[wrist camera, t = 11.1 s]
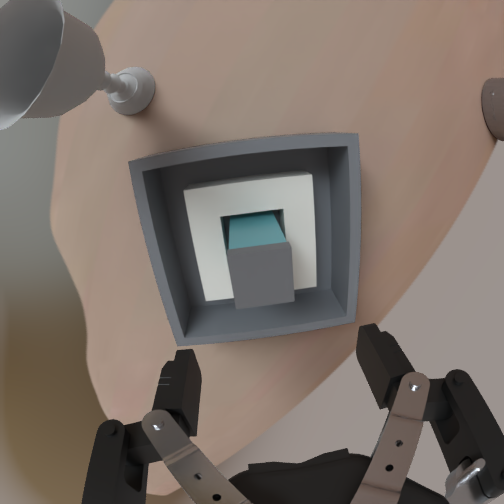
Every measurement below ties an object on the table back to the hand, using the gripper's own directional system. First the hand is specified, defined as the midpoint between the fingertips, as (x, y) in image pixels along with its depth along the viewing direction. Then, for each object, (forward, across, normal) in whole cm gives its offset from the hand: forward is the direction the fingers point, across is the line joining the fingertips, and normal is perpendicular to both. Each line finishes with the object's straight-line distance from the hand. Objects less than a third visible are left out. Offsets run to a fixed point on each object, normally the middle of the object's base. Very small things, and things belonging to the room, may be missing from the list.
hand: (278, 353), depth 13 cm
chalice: (+18, +10, -16) cm, 26 cm away
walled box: (+18, 0, 0) cm, 18 cm away
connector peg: (+17, 0, 0) cm, 17 cm away
